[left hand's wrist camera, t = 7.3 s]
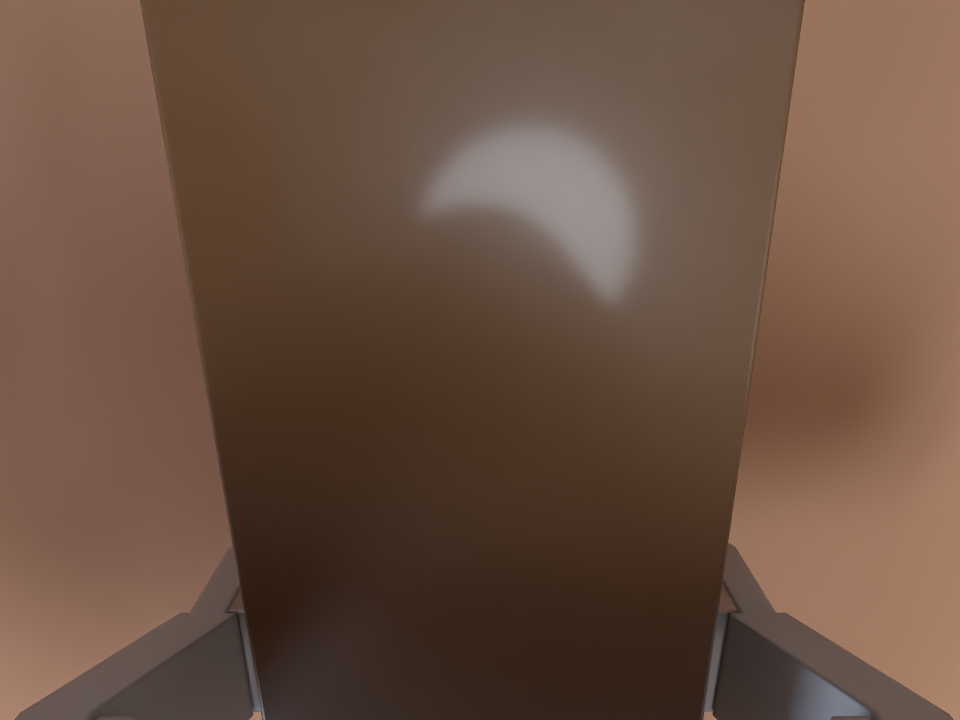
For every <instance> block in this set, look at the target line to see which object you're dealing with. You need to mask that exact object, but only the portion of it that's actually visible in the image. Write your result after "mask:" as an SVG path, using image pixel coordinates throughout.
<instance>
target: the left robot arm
mask: <svg viewBox="0 0 960 720" xmlns="http://www.w3.org/2000/svg"><path fill="white" fill-rule="evenodd" d="M253 712H261V708H260V702H259V696H258V690H257V684H256V678H255V672H254V666H253V661H252V655H251V649H250V643H249V637H248V631H247V625H246V619H245V614H244V608H243V602H242V596H241V590H240V584H239V578H238V572H237V567H236V561H235V555H234V549H233V546H231V547H230V548H229V549H228V551H227V552H226V554H225V556H224V557H223V559H222V560H221V562H220V564H219V565H218V567H217V569H216V570H215V572H214V574H213V575H212V577H211V579H210V580H209V582H208V584H207V585H206V587H205V589H204V590H203V592H202V594H201V595H200V597H199V599H198V600H197V602H196V604H195V605H194V607H193V609H192V610H191V612H190V613H180V614H178V615H176V616H175V617H173V618H172V619H170V620H168V621H167V622H165V623H163V624H162V625H160V626H159V627H157V628H155V629H154V630H152V631H151V632H149V633H147V634H146V635H144V636H143V637H141V638H139V639H138V640H136V641H135V642H133V643H131V644H130V645H128V646H127V647H125V648H123V649H122V650H120V651H119V652H117V653H115V654H114V655H112V656H111V657H109V658H107V659H106V660H104V661H103V662H101V663H99V664H98V665H96V666H95V667H93V668H91V669H90V670H88V671H87V672H85V673H83V674H82V675H80V676H79V677H77V678H75V679H74V680H72V681H71V682H69V683H67V684H66V685H64V686H63V687H61V688H59V689H58V690H56V691H55V692H53V693H51V694H50V695H48V696H46V697H45V698H43V699H42V700H40V701H38V702H37V703H35V704H34V705H32V706H30V707H29V708H27V709H26V710H24V711H22V712H21V713H20V714H19V715H18V716H17V717H16V719H15V720H249V719H250V718H251V717H252V716H253ZM704 712H713V716H714V717H715V718H716V719H717V720H953V718H952V717H951V716H950V715H949V714H948V713H946V712H945V711H943V710H942V709H940V708H938V707H937V706H935V705H933V704H932V703H930V702H929V701H927V700H925V699H924V698H922V697H921V696H919V695H917V694H916V693H914V692H913V691H911V690H909V689H908V688H906V687H904V686H903V685H901V684H900V683H898V682H896V681H895V680H893V679H892V678H890V677H888V676H887V675H885V674H883V673H882V672H880V671H879V670H877V669H875V668H874V667H872V666H871V665H869V664H867V663H866V662H864V661H863V660H861V659H859V658H858V657H856V656H854V655H853V654H851V653H850V652H848V651H846V650H845V649H843V648H842V647H840V646H838V645H837V644H835V643H834V642H832V641H830V640H829V639H827V638H825V637H824V636H822V635H821V634H819V633H817V632H816V631H814V630H813V629H811V628H809V627H808V626H806V625H805V624H803V623H801V622H800V621H798V620H796V619H795V618H793V617H792V616H790V615H788V614H787V613H776V612H775V610H774V608H773V607H772V605H771V604H770V602H769V600H768V599H767V597H766V596H765V594H764V592H763V591H762V589H761V588H760V586H759V584H758V583H757V581H756V579H755V578H754V576H753V575H752V573H751V571H750V570H749V568H748V567H747V565H746V563H745V562H744V560H743V559H742V557H741V555H740V554H739V552H738V551H737V549H736V547H735V546H733V545H731V544H728V546H727V553H726V560H725V567H724V574H723V581H722V588H721V596H720V603H719V610H718V617H717V624H716V631H715V638H714V645H713V652H712V659H711V666H710V673H709V680H708V687H707V695H706V702H705V709H704Z"/></svg>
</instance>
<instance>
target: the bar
mask: <svg viewBox="0 0 960 720" xmlns="http://www.w3.org/2000/svg"><path fill="white" fill-rule="evenodd" d="M140 2H141V8H142V14H143V20H144V26H145V32H146V37H147V43H148V49H149V55H150V61H151V67H152V73H153V79H154V84H155V90H156V96H157V102H158V108H159V114H160V120H161V126H162V131H163V137H164V143H165V149H166V155H167V161H168V167H169V173H170V179H171V184H172V190H173V196H174V202H175V208H176V214H177V220H178V226H179V231H180V237H181V243H182V249H183V255H184V261H185V267H186V273H187V278H188V284H189V290H190V296H191V302H192V308H193V314H194V320H195V325H196V331H197V337H198V343H199V349H200V355H201V361H202V367H203V373H204V378H205V384H206V390H207V396H208V402H209V408H210V414H211V420H212V425H213V431H214V437H215V443H216V449H217V455H218V461H219V467H220V472H221V478H222V484H223V490H224V496H225V502H226V508H227V514H228V519H229V525H230V531H231V537H232V543H233V549H234V555H235V561H236V567H237V572H238V578H239V584H240V590H241V596H242V602H243V608H244V614H245V619H246V625H247V631H248V637H249V643H250V649H251V655H252V661H253V666H254V672H255V678H256V684H257V690H258V696H259V702H260V708H261V713H262V719H263V720H703V716H704V709H705V702H706V695H707V687H708V680H709V673H710V666H711V659H712V652H713V645H714V638H715V631H716V624H717V617H718V610H719V603H720V596H721V588H722V581H723V574H724V567H725V560H726V553H727V546H728V539H729V532H730V525H731V518H732V511H733V504H734V497H735V489H736V482H737V475H738V468H739V461H740V454H741V447H742V440H743V433H744V426H745V419H746V412H747V405H748V398H749V391H750V383H751V376H752V369H753V362H754V355H755V348H756V341H757V334H758V327H759V320H760V313H761V306H762V299H763V292H764V284H765V277H766V270H767V263H768V256H769V249H770V242H771V235H772V228H773V221H774V214H775V207H776V200H777V193H778V185H779V178H780V171H781V164H782V157H783V150H784V143H785V136H786V129H787V122H788V115H789V108H790V101H791V94H792V86H793V79H794V72H795V65H796V58H797V51H798V44H799V37H800V30H801V23H802V16H803V9H804V2H805V0H140Z"/></svg>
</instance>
